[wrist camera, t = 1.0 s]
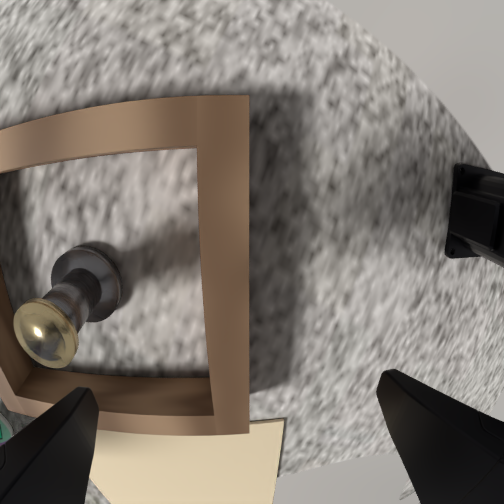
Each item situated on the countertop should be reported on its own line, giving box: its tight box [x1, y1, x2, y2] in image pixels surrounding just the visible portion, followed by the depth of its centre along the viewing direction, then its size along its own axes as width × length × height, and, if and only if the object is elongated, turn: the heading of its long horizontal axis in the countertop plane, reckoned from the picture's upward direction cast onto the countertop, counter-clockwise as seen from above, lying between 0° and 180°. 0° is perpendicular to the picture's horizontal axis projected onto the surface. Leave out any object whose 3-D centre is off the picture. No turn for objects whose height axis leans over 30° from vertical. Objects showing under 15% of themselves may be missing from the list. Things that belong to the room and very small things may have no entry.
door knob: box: [14, 246, 122, 368], centre depth 13 cm, size 4×4×6 cm
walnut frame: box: [0, 95, 250, 436], centre depth 14 cm, size 18×18×4 cm
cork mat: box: [89, 418, 284, 504], centre depth 22 cm, size 20×20×1 cm
